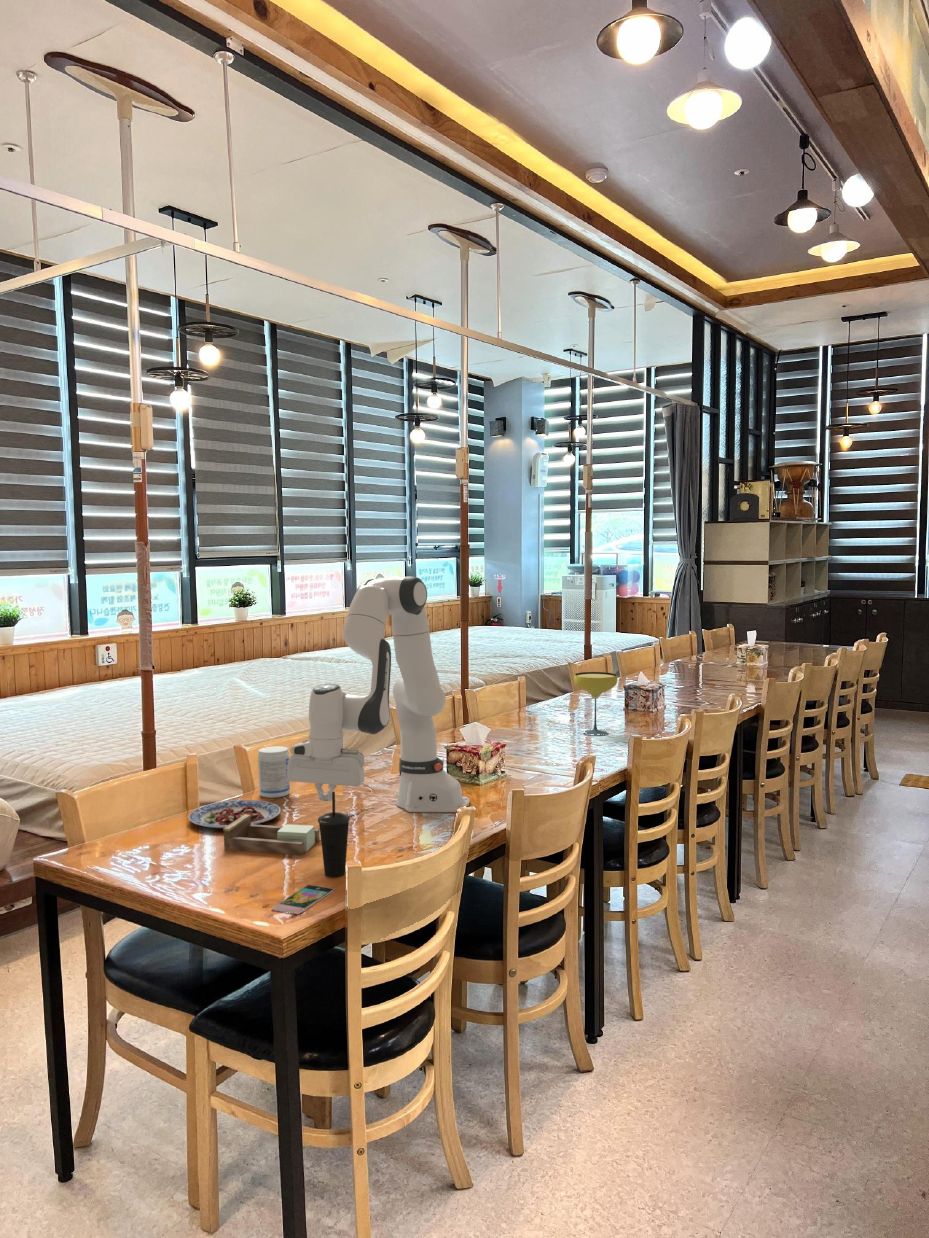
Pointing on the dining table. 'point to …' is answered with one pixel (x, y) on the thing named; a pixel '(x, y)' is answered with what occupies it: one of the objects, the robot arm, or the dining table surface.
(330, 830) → the drinking cup
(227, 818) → the ceramic plate
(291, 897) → the smartphone
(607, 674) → the cocktail glass
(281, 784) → the supplement tub
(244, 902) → the dining table surface
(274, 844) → the bay
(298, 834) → the pale green block
